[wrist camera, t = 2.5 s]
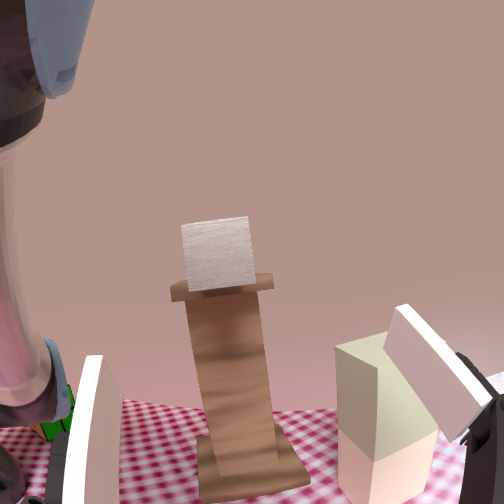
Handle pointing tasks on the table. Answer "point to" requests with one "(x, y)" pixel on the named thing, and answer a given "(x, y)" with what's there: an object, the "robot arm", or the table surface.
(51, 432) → the puzzle cube
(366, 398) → the tower upper
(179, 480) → the table surface
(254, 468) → the walnut stand
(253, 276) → the steel bar
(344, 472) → the tower lower
